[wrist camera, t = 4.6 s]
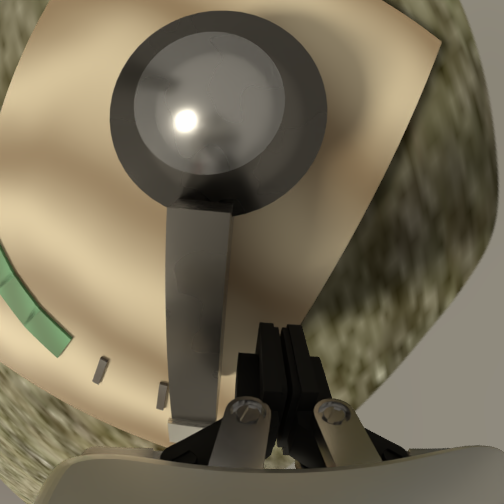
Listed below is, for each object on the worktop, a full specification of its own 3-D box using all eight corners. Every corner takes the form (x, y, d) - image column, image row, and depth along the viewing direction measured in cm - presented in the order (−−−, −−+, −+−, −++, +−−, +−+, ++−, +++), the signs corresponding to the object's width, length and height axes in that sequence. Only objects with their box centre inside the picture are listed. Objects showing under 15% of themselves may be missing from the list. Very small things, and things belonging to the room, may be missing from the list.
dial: (147, 35, 9) (104, -6, 5) (318, 46, 10) (351, 3, 6) (139, 370, 14) (114, 431, 10) (271, 385, 14) (276, 452, 10)
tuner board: (207, 442, 18) (205, 461, 17) (-9, 335, 16) (-22, 347, 14) (425, 49, 11) (444, 40, 9) (115, -64, 8) (104, -79, 7)
